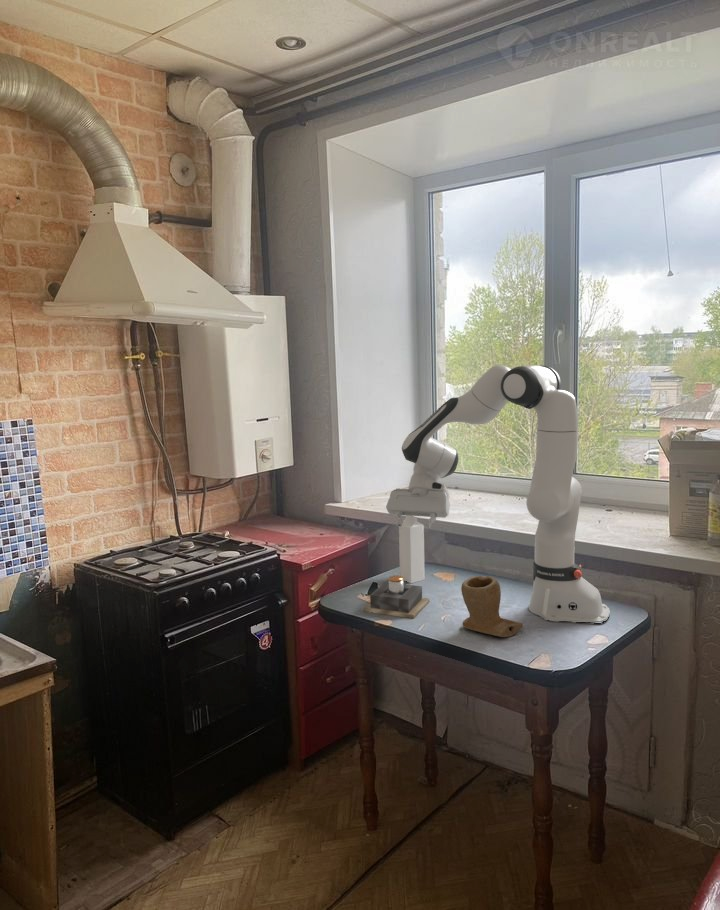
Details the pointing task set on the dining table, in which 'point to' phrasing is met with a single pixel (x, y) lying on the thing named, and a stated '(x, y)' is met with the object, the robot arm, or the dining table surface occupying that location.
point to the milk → (411, 550)
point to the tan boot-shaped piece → (486, 607)
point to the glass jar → (396, 585)
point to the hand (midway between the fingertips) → (412, 526)
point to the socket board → (397, 601)
